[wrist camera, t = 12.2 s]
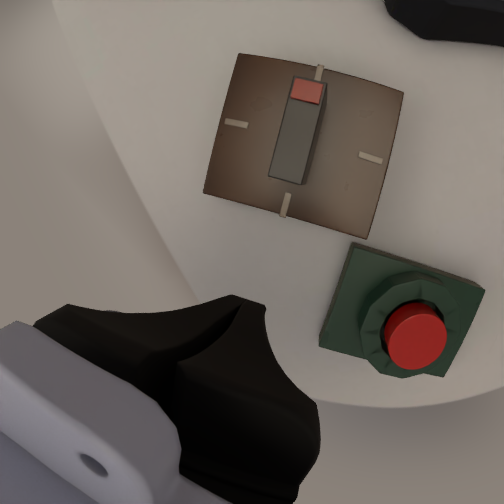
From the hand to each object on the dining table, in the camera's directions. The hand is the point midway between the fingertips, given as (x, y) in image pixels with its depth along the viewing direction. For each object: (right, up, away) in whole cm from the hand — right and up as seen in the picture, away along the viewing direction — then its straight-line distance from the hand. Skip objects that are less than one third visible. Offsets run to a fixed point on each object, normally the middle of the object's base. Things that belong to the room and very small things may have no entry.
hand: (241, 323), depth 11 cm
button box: (+11, -1, +9) cm, 14 cm away
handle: (+3, +9, +6) cm, 11 cm away
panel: (+4, +9, +8) cm, 13 cm away
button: (+10, -2, +6) cm, 12 cm away
